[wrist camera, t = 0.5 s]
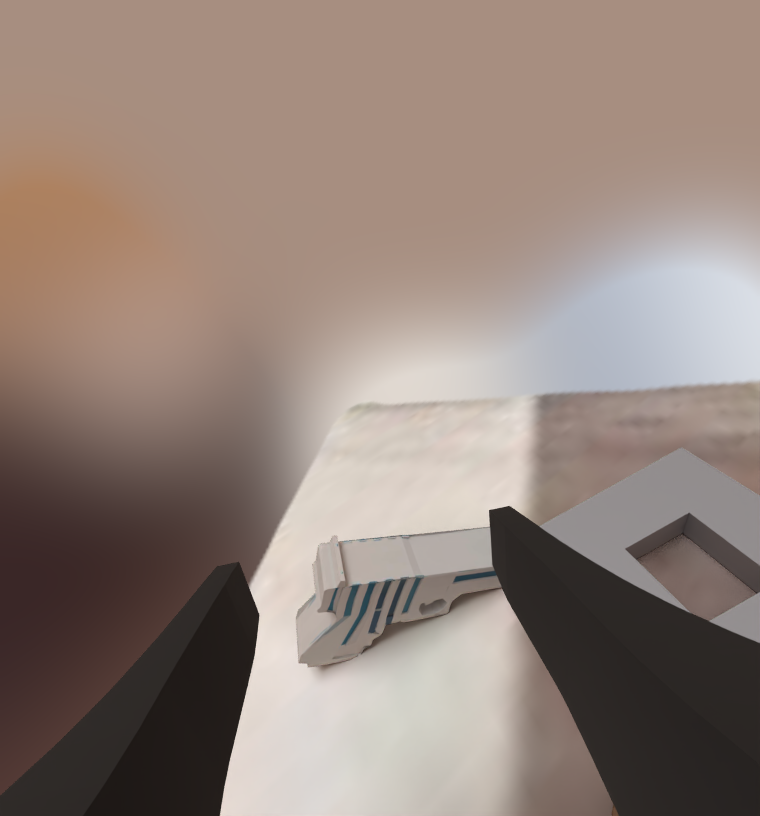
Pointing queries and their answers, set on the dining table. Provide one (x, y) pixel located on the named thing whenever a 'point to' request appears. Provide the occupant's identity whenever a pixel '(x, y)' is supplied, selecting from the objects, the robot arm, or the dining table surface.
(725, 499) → the socket plate
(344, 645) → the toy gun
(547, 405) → the dining table surface
